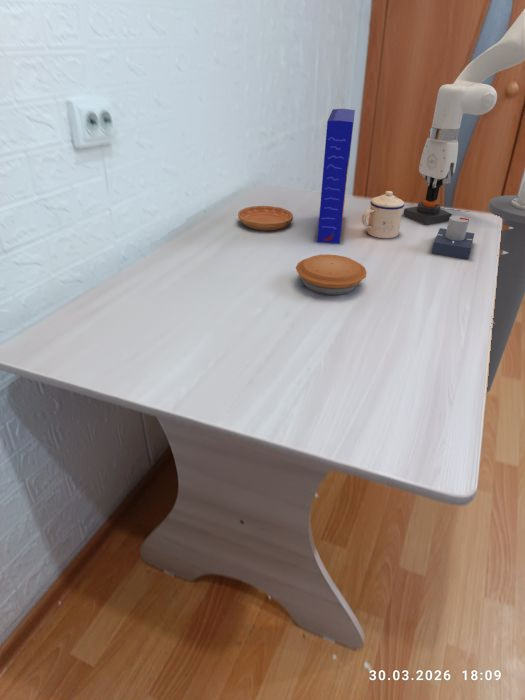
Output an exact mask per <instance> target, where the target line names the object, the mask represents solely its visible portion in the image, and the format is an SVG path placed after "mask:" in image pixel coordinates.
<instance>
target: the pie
mask: <svg viewBox="0 0 525 700" xmlns="http://www.w3.org/2000/svg"><path fill="white" fill-rule="evenodd" d="M295 269H296V272H297V274H298V276H299V277H300V280H301V281H302V282H303V284H304V286H305V287H306V288H307V289H309V290H310V291H312V292H314V293H316V294H321V295H326V296H340V295H345V294H346V295H347V294H348V293H351V292H352V291H353V290H355V288H357V286H358V285H359V284H360V283H361V282H362V281H363V280H364V279H365V278H367V269H366V267H365V266H364V265H363V264H362V263H360V262H358V261H357V260H354V259H352V258H350V257H346V256H344V255H338V254H328V253H327V254H317V255H313V256H309V257H307V258H304V259H302V260H300V261H299V262H298V263H297V264H296V266H295Z"/></svg>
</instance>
